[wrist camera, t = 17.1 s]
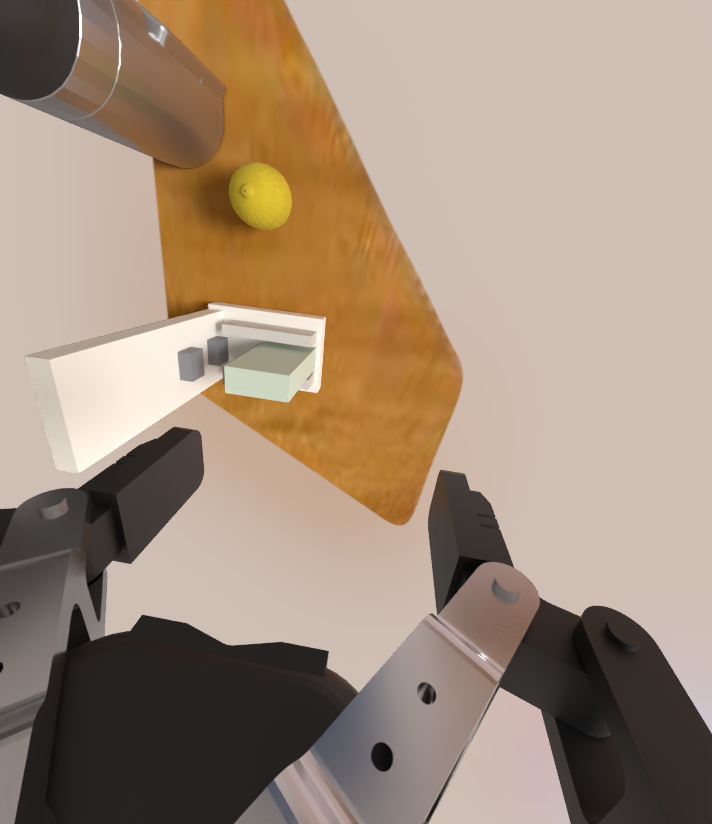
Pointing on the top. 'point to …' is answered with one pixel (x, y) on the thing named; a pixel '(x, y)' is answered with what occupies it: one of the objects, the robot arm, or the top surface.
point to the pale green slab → (269, 371)
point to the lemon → (260, 196)
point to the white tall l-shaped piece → (150, 374)
